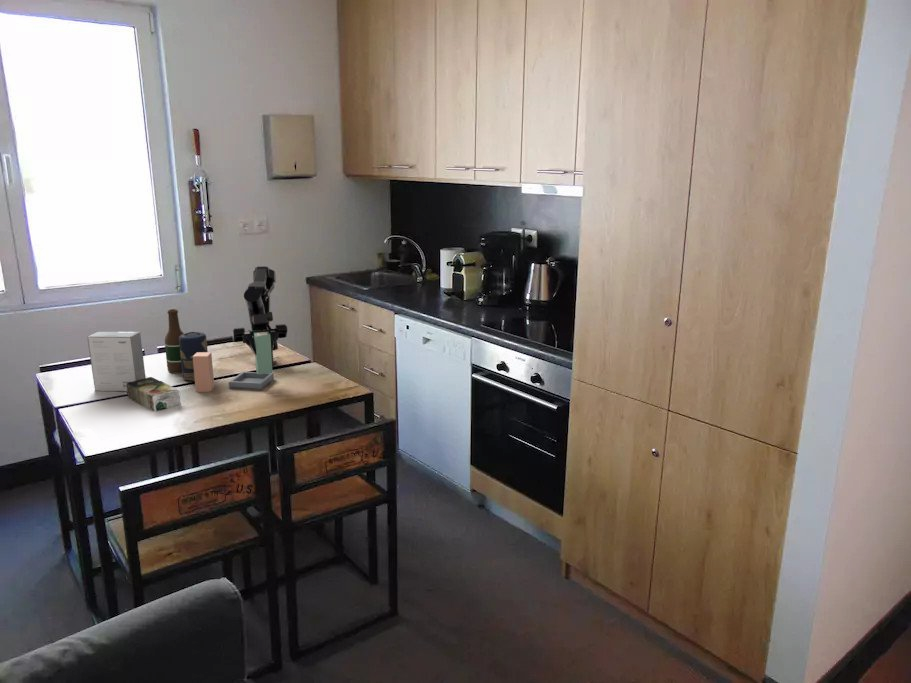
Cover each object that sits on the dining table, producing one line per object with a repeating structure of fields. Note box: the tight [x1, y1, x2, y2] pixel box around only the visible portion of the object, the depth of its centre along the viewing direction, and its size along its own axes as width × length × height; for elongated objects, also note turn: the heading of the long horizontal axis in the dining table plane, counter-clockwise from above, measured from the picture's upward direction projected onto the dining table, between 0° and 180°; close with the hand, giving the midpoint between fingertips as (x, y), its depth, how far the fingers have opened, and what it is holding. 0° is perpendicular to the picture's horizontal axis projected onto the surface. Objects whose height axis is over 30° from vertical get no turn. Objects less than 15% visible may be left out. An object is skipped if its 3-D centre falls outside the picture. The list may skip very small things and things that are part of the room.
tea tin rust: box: [193, 351, 215, 393], centre depth 240 cm, size 5×5×13 cm
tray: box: [228, 371, 275, 391], centre depth 247 cm, size 12×12×2 cm
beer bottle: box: [164, 308, 185, 374], centre depth 259 cm, size 8×8×24 cm
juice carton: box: [126, 376, 181, 412], centre depth 229 cm, size 20×10×6 cm, turn 50°
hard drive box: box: [87, 331, 147, 392], centre depth 239 cm, size 16×8×20 cm, turn 89°
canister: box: [179, 331, 209, 382], centre depth 250 cm, size 10×10×18 cm
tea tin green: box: [254, 332, 273, 374], centre depth 241 cm, size 5×5×14 cm
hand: (263, 353), depth 240 cm, fingers closed on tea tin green, 5 cm apart
